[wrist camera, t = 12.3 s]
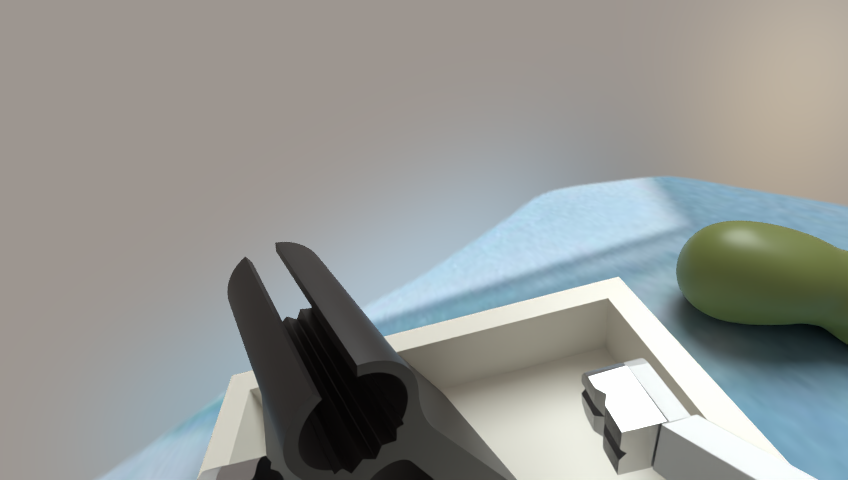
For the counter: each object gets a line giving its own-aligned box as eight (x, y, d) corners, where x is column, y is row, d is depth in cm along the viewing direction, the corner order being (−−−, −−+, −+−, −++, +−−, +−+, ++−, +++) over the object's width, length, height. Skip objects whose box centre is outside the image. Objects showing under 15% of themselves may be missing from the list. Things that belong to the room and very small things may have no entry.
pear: (693, 194, 23) (936, 232, 19) (664, 265, 26) (867, 309, 22) (698, 251, 19) (1006, 314, 15) (663, 326, 22) (910, 393, 18)
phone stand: (445, 398, 20) (390, 189, 14) (533, 503, 16) (515, 268, 9) (275, 521, 17) (91, 326, 10) (324, 697, 12) (53, 556, 6)
